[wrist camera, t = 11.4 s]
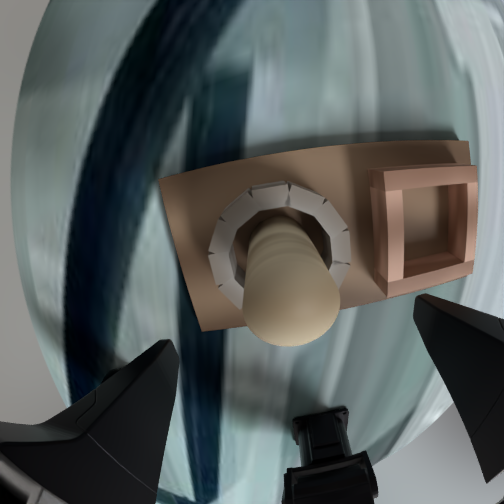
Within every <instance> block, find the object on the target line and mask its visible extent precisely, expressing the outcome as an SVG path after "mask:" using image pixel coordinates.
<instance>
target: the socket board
mask: <svg viewBox="0 0 504 504" xmlns="http://www.w3.org/2000/svg"><path fill="white" fill-rule="evenodd" d="M158 180H159V185H160V189H161V193H162V198H163V202H164V206H165V210H166V214H167V218H168V221H169V225H170V229H171V233H172V236H173V240H174V244H175V247H176V251H177V254H178V258H179V261H180V265H181V268H182V271H183V275H184V278H185V281H186V284H187V288H188V291H189V294H190V297H191V300H192V303H193V306H194V309H195V312H196V315H197V318H198V321H199V324H200V327H201V330H202V331H211V330H220V329H228V328H236V327H243V326H247V324H246V322H245V320H244V317H243V311H242V304H243V294H244V285H245V276H246V267H247V258H248V249H249V240H250V236H251V234H252V232H253V230H254V228H255V227H256V226H257V225H258V224H259V223H260V222H262V221H263V220H265V219H267V218H269V217H273V216H286V217H289V218H292V219H294V220H296V221H297V222H298V223H300V224H301V226H302V227H303V228H304V229H305V231H306V233H307V234H308V236H309V238H310V239H311V241H312V243H313V245H314V246H315V248H316V250H317V251H318V253H319V255H320V257H321V258H322V260H323V262H324V264H325V265H326V267H327V269H328V271H329V272H330V274H331V276H332V278H333V279H334V281H335V283H336V285H337V287H338V290H339V293H340V308H339V310H342V309H346V308H351V307H356V306H360V305H364V304H369V303H373V302H377V301H381V300H385V299H389V298H393V297H397V296H401V295H405V294H409V293H412V292H416V291H420V290H423V289H427V288H430V287H434V286H437V285H440V284H444V283H447V282H450V281H453V280H457V279H460V278H463V277H466V276H467V275H469V274H472V272H473V265H474V257H475V248H476V236H477V217H478V183H477V166H475V165H471V161H470V150H469V142H468V141H457V140H406V141H383V142H368V143H355V144H344V145H334V146H325V147H317V148H309V149H301V150H294V151H288V152H281V153H275V154H269V155H263V156H257V157H252V158H247V159H242V160H236V161H232V162H227V163H222V164H217V165H213V166H208V167H204V168H200V169H196V170H192V171H187V172H183V173H180V174H176V175H172V176H168V177H164V178H161V179H158Z"/></svg>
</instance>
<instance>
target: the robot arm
mask: <svg viewBox="0 0 504 504" xmlns="http://www.w3.org/2000/svg"><path fill="white" fill-rule="evenodd" d="M413 319H414V322H415V324H416V326H417V328H418V331H419V333H420V335H421V337H422V340H423V342H424V344H425V347H426V349H427V351H428V353H429V355H430V357H431V359H432V360H433V362H434V364H435V366H436V368H437V370H438V371H439V373H440V375H441V377H442V379H443V381H444V383H445V385H446V387H447V389H448V391H449V393H450V395H451V397H452V399H453V401H454V403H455V405H456V408H457V409H458V412H459V414H460V416H461V418H462V421H463V423H464V425H465V428H466V430H467V432H468V435H469V437H470V438H471V443H472V445H473V448H474V450H475V453H476V456H477V458H478V461H479V464H480V467H481V470H482V473H483V476H484V479H485V482H486V483H489V482H490V481H491V480H493V479H494V478H496V477H497V476H498V475H500V474H501V473H502V472H504V319H502V318H498V317H495V316H493V315H490V314H487V313H484V312H481V311H478V310H475V309H472V308H469V307H466V306H463V305H460V304H457V303H454V302H450V301H447V300H444V299H441V298H438V297H435V296H432V295H429V294H421V295H418V296H416V298H415V303H414V312H413ZM178 369H179V356H178V354H177V352H176V349H175V347H174V345H173V342H172V341H171V340H170V339H163V340H159V341H158V342H156V343H155V344H154V345H152V346H151V347H150V348H149V349H147V350H146V351H145V352H143V353H142V354H141V355H139V356H138V357H137V358H135V359H134V360H133V361H131V362H130V363H129V364H128V365H126V366H125V367H124V368H122V369H121V370H120V371H118V372H117V373H116V374H114V375H113V376H112V377H110V378H109V379H108V380H106V381H105V382H104V383H102V384H101V385H100V386H98V387H97V388H96V389H94V390H93V391H92V392H90V393H89V394H88V395H86V396H85V397H83V398H82V399H81V400H79V401H78V402H76V403H75V404H73V405H71V406H70V407H68V408H67V409H65V410H64V411H62V412H60V413H59V414H57V415H55V416H54V417H52V418H51V419H49V420H47V421H45V422H43V423H40V424H36V425H26V424H15V423H8V422H1V421H0V504H155V503H156V496H157V494H156V493H157V489H158V483H159V478H160V472H161V466H162V461H163V456H164V450H165V445H166V440H167V435H168V430H169V425H170V421H171V416H172V411H173V406H174V402H175V397H176V389H177V379H178ZM348 415H349V411H348V409H347V408H345V409H340V410H336V411H331V412H326V413H321V414H316V415H310V416H304V417H298V418H294V419H293V420H292V422H293V428H294V434H295V440H296V445H299V449H300V458H301V467H296V468H287V473H285V474H284V490H283V496H282V504H374V498H377V497H378V486H377V481H376V477H375V474H374V471H373V468H372V465H371V463H370V460H369V457H368V455H367V452H366V450H365V451H362V452H361V453H357V454H354V455H352V452H351V448H350V444H349V440H348V436H347V424H348ZM496 504H504V498H503V499H501V500H500V501H499V502H498V503H496Z"/></svg>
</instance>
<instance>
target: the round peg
mask: <svg viewBox="0 0 504 504" xmlns="http://www.w3.org/2000/svg"><path fill="white" fill-rule="evenodd" d="M339 308H340V293H339V290H338V287H337V285H336V283H335V281H334V279H333V278H332V276H331V274H330V272H329V271H328V269H327V267H326V265H325V264H324V262H323V260H322V258H321V257H320V255H319V253H318V251H317V250H316V248H315V246H314V245H313V243H312V241H311V239H310V238H309V236H308V234H307V233H306V231H305V229H304V228H303V227H302V226H301V224H300V223H298V222H297V221H296V220H294V219H292V218H289V217H286V216H273V217H269V218H267V219H265V220H263V221H262V222H260V223H259V224H258V225H257V226H256V227H255V228H254V230H253V232H252V234H251V236H250V240H249V249H248V258H247V267H246V276H245V285H244V294H243V304H242V311H243V317H244V320H245V322H246V324H247V326H248V327H249V329H250V330H251V331H252V332H253V333H254V334H255V335H256V336H257V337H258V338H260V339H261V340H263V341H265V342H267V343H270V344H273V345H278V346H298V345H303V344H306V343H309V342H311V341H313V340H315V339H317V338H318V337H320V336H321V335H323V334H324V333H325V332H326V331H327V330H328V329H329V328H330V327H331V326H332V324H333V323H334V321H335V319H336V317H337V315H338V312H339Z"/></svg>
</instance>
